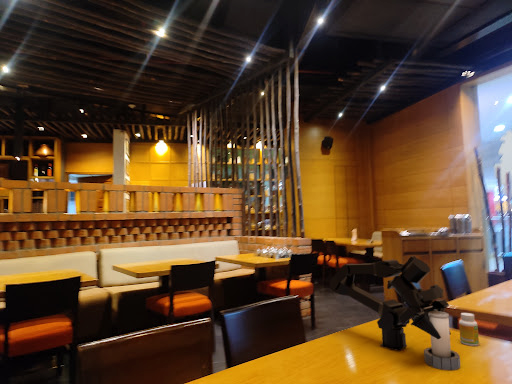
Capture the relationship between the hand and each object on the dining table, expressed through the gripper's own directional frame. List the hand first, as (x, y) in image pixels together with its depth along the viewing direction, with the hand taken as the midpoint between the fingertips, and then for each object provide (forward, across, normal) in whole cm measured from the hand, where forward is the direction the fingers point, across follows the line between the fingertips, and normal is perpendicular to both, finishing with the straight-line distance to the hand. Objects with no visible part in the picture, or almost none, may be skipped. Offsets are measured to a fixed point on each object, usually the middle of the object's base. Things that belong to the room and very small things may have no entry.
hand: (444, 336), depth 99 cm
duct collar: (+5, 0, +7) cm, 8 cm away
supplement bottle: (+2, +24, +10) cm, 26 cm away
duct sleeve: (+4, 0, +6) cm, 7 cm away
